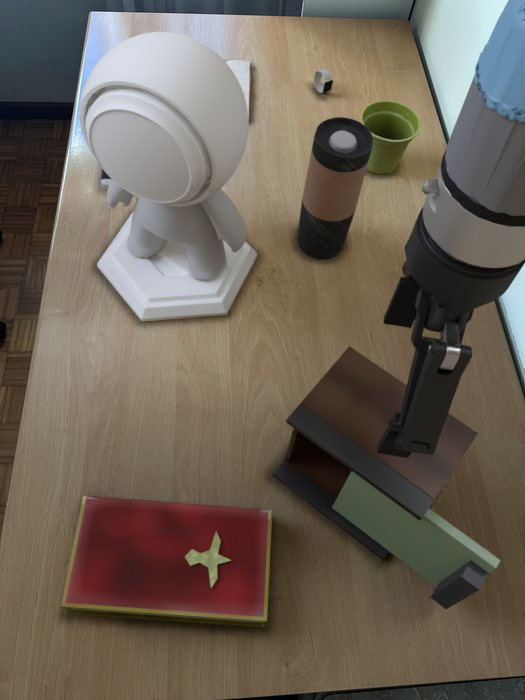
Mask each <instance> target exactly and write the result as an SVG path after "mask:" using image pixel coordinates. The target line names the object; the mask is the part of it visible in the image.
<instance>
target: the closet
mask: <svg viewBox="0 0 525 700" xmlns="http://www.w3.org/2000/svg"><path fill="white" fill-rule="evenodd" d="M406 386H407V383H405V382H404V381H401V380H400V379H399V378H397V377H396V376H394V375H393V374H391V373H390V372H388V371H387V370H385V368H383V367H382V366H379V365H378V364H377V363H375V362H374V361H372V360H370V359H369V358H368V357H366V356H365V355H363V354H362V353H360V352H359V351H357V350H356V349H355V348H353V347H351V345H348V347H347V348H346V349H345V350H344V351H343V352H342V354H341V355H340V356H339V357H338V358H337V359H336V361H334V363H333V364H332V366H331V367H330V368H329V369H328V370H327V372H326V373H324V375H323V376H322V377H321V378H320V380H319V381H317V383H316V384H315V385H314V387H312V388H311V390H310V391H309V392H308V393H307V394H306V396H305V397H304V398H303V399H302V400H301V402H300V403H299V404H298V405H297V406H296V408H294V410H293V411H292V412H291V414H290V415H289V416H288V417H287V418H286V421H285V423H286V424H287V425H289V426H290V427H291V428H293V429H292V431H291V436H290V439H289V443H288V446H287V449H286V452H285V453H286V454H285V457H284V459H283V460H282V462H281V463H280V464H279V465H278V466H277V468H276V469H275V470H274V472H273V473H272V477H273V478H275V479H276V480H277V481H279V482H280V483H281V484H282V485H284V486H285V487H286V488H287V489H289V490H290V491H292V492H293V493H294V494H295V495H297V496H298V497H300V498H301V499H302V500H303V501H305V503H307V504H309V505H310V506H311V507H312V508H314V509H315V510H317V511H318V512H319V513H320V514H321V515H323V516H324V517H326V518H327V519H328V520H329V521H331V522H332V523H333V524H335V525H336V526H337V527H339V528H340V529H341V530H342V531H344V532H345V533H346V534H348V535H349V536H350V537H352V538H353V539H354V540H355V541H356V542H358V543H359V544H361V545H362V546H363V547H365V548H366V549H367V550H368V551H370V552H371V553H372V554H373V555H375V556H376V557H377V558H379V559H380V560H382V561H383V560H384V559H385V558H386V557H387V555H388V554H389V553H390V552H389V551H388V550H387V549H385V548H384V547H383V546H381V545H380V544H379V543H378V542H376V541H375V540H374V539H372V538H371V537H370V536H368V535H367V534H366V533H364V532H363V531H362V530H360V529H359V528H358V527H357V526H355V525H354V524H353V523H351V522H350V521H349V520H347V519H346V518H345V517H343V516H342V515H341V514H339V513H338V512H337V511H336V510H334V509H333V508H332V507H333V505H334V503H335V501H336V499H337V498H338V496H339V494H340V492H341V490H342V488H343V486H344V484H345V483H346V481H347V479H348V477H349V475H350V473H351V471H353V472H354V473H355V474H357V475H358V476H359V477H361V478H362V479H364V480H365V481H366V482H368V483H369V484H370V485H372V486H373V487H374V488H376V489H377V490H378V491H380V492H381V493H383V494H384V495H385V496H387V497H388V498H389V499H391V500H392V501H393V502H395V503H396V504H397V505H399V506H400V507H402V508H403V509H404V510H406V511H407V512H408V513H410V514H411V515H412V516H414V517H415V518H417V519H418V520H419V521H420V520H421V519H422V518H423V516H424V515H425V513H426V512H427V510H428V509H430V507H431V506H432V504H433V502H434V501H435V500H436V498H437V496H438V495H439V494H440V492H441V490H442V489H443V488H444V486H445V485H446V483H447V482H448V480H449V478H451V476H452V474H453V472H454V471H455V469H456V468H457V466H458V465H459V463H460V462H461V461H462V459H463V458H464V456H465V454H466V453H467V451H468V450H469V448H470V447H471V445H472V444H473V442H474V440H476V438H477V436H478V434H479V432H477V431H475V430H474V429H473V428H471V427H470V426H469V425H467V424H465V423H464V422H462V421H461V420H460V419H458V418H456V417H455V416H454V415H452V414H450V412H448V415H447V418H446V421H445V423H444V426H443V429H442V432H441V435H440V438H439V440H438V443H437V446H436V450H435V452H434V454H433V455H428V454H421V453H415V452H412V453H411V454H410V456H409V457H408V458H405V457H399V456H392V455H386V454H380V453H377V445H378V443H379V441H380V439H381V438H382V436H383V434H384V432H385V431H386V429H387V427H388V421H389V419H390V420H392V418H393V417H394V415H395V413H400V412H401V408H402V404H403V399H404V395H405V391H406Z"/></svg>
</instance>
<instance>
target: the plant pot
mask: <svg viewBox="0 0 525 700" xmlns="http://www.w3.org/2000/svg"><path fill="white" fill-rule="evenodd" d="M359 118H360V119H359V120H360V123H362V124H363V125H365V126H366V127H367V128H368V129H369V130H370V132H371V134H372V136H373V146H372V150H371V154H370V158H369V161H368V165H367V169H366V171H368V172H370V173H372V174H375V175H381V174H387V175H388V174H391V173H393V172H394V171H395V170H396V169H397V167H398V165H399V163H400V162H401V159H402V157H403V155H404V153H405V152H406V150H407V148H408V146H409V144H410V143H411V142H412V141H413V140H414V139H415V138H416V137H417V136H418V135H419V133H420V130H421V128H422V122H421V121H422V120H421V118H420V115H418V113H417V112H416V111H415V110H414V109H413V108H412V107H410V106H408V105H407V104H405V103H402V102H400V101H395V100H391V99H389V100H388V99H381V100H376V101H372V102H370V103H369V104H367V105H365V107H363V109H362V110H361V112H360V117H359Z"/></svg>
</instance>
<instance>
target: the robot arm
mask: <svg viewBox="0 0 525 700" xmlns="http://www.w3.org/2000/svg"><path fill="white" fill-rule="evenodd" d="M441 157H442V158H441V161H440V163H439V166H438V170H437V173H436V176H435V177H434V178H433V177H428V178H425V179H424V180H423V183H422V186H421V191H422V192H423V194H424V195H426V198H425V201H424V203H423V206H422V208H421V209H420V212H419V213H418V214H417V218H416V220H415V222H414V225H413V228H412V230H411V232H410V235H409V237H408V240H407V241H406V243H405V244H404V248H403V250H404V255H405V260H404V262H403V264H402V266H401V270H402V275H404V276H400V278H399V280H398V282H397V284H396V287H395V289H394V292H393V294H392V297H391V299H390V301H389V304H388V306H387V309H386V310H385V313H384V316H383V321H382V322H383V325H387V326H388V325H389V326H395V327H403V328H407V329H412V332H411V335H410V341H411V344H412V346H413V348H414V352H413V357H412V361H411V366H410V370H409V375H408V377H407V378H408V379H407V383H406V385H407V386H406V391H405V395H404V399H403V404H402V408H401V412H400V413H395V415H394V417H393V418H392V420H390V419H389V421H388V427H387V429H386V431H385V432H384V434H383V436H382V438H381V439H380V441H379V443H378V445H377V453H380V454H386V455H392V456H399V457H405V458H408V457H409V456H410V454H411V453H412V452H415V453H421V454H428V455H433V454H434V452H435V450H436V446H437V443H438V440H439V438H440V435H441V432H442V429H443V426H444V423H445V421H446V418H447V415H448V413H450V409H451V406H452V403H453V401H454V398H455V395H456V392H457V390H458V386H459V384H460V380H461V378H462V375H463V374H464V373H465V371H466V369H467V367H468V366H469V364H470V362H471V359H472V358H473V348H472V346H471V345H467V344H463V339H464V336H465V332H466V327H467V324H468V323H469V322H470V321H471V320H472V318H473V315H474V311H475V309H477V308H481V307H482V306H484V305H487V304H491V303H493V302H494V301H496V300H497V299H499V298H501V297H502V296H503V295H504V294H505V293H506V292H507V291H508V289H509V288H510V286H511V285H512V284H513V282H514V280H515V279H516V277H517V276H518V275H519V273H520V272H521V270H522V268H523V267H524V265H525V0H508V1H507V2H506V4H505V6H504V8H503V10H502V12H501V14H500V15H499V16H498V19H497V21H496V23H495V25H494V27H493V29H492V31H491V33H490V36H489V38H488V40H487V43H486V44H485V45H484V46H483V50H482V51H481V52H480V54H479V56H478V60H477V62H476V64H475V67H474V75H473V78H472V81H471V83H470V85H469V88H468V91H467V94H466V96H465V99H464V101H463V104H462V106H461V109H460V111H459V114H458V116H457V119H456V121H455V124H454V126H453V129H452V131H451V134H450V137H449V139H448V141H447V145H446V147H445V151H444V153H443V155H442V156H441ZM424 330H427V331H429V332H435V333H440V338H436V337H429V336H423V334H424Z"/></svg>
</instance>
